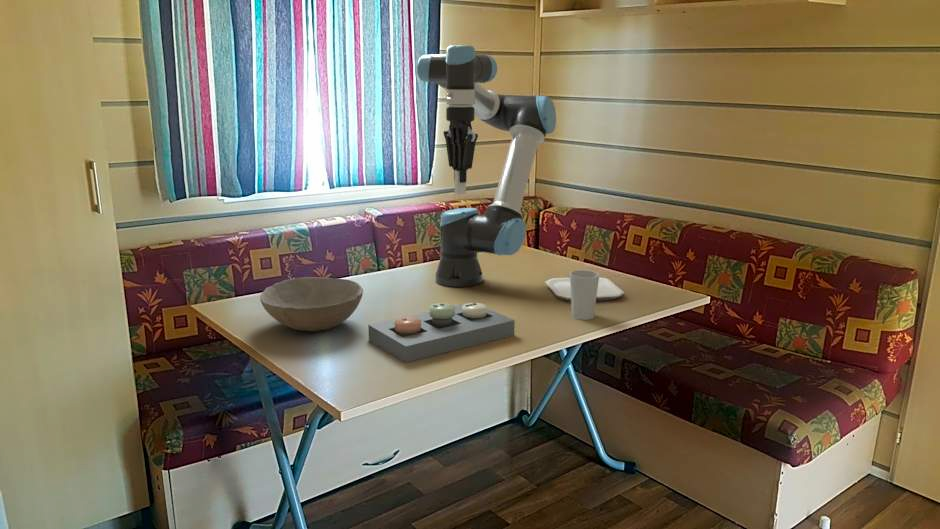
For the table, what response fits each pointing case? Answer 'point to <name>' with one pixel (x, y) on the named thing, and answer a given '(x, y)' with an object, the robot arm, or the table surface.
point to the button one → (407, 326)
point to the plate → (604, 289)
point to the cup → (583, 293)
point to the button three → (474, 311)
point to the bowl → (312, 302)
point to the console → (440, 335)
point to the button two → (442, 314)
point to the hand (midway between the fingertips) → (460, 193)
